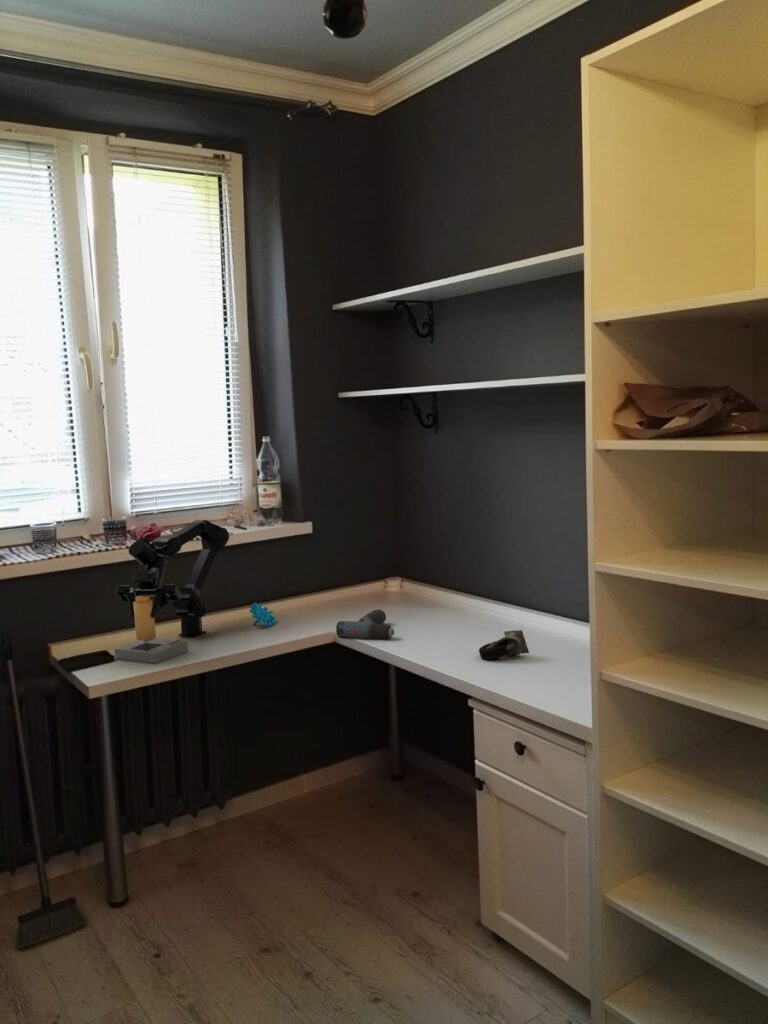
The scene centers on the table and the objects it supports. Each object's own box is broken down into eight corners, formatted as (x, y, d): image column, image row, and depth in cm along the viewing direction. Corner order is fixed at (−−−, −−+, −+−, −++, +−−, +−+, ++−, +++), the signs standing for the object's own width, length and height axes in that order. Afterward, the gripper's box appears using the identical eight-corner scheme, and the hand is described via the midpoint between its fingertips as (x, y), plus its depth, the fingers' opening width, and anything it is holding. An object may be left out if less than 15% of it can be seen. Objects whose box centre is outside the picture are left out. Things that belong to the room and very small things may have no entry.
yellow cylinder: (145, 634, 263) (142, 594, 261) (159, 636, 260) (156, 595, 259) (132, 639, 258) (128, 598, 256) (146, 640, 255) (142, 599, 254)
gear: (263, 625, 283) (246, 602, 287) (253, 637, 285) (236, 614, 289) (283, 622, 293) (267, 599, 296) (273, 633, 295) (257, 611, 298)
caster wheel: (477, 667, 239) (499, 653, 246) (508, 666, 231) (530, 652, 237) (470, 644, 239) (492, 631, 245) (501, 642, 230) (523, 629, 237)
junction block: (148, 646, 271) (147, 634, 271) (188, 650, 264) (187, 638, 263) (115, 658, 259) (114, 646, 259) (155, 663, 251) (154, 650, 251)
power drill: (416, 626, 279) (390, 643, 261) (364, 623, 287) (335, 639, 269) (415, 610, 278) (389, 626, 260) (363, 607, 286) (334, 622, 268)
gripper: (115, 559, 261) (101, 603, 252) (174, 557, 259) (163, 602, 249) (128, 579, 270) (116, 623, 261) (186, 577, 267) (175, 622, 258)
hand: (142, 617), depth 257 cm, fingers closed on yellow cylinder, 6 cm apart
